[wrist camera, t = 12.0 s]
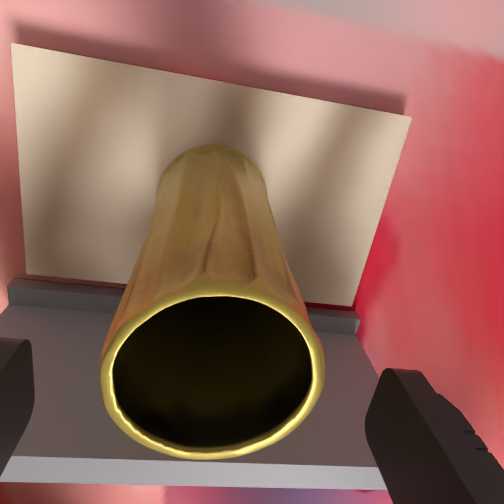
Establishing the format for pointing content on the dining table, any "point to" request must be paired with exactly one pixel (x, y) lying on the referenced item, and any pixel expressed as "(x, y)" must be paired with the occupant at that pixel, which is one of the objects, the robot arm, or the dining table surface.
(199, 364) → the vase
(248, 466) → the screen
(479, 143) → the dining table surface
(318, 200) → the board
